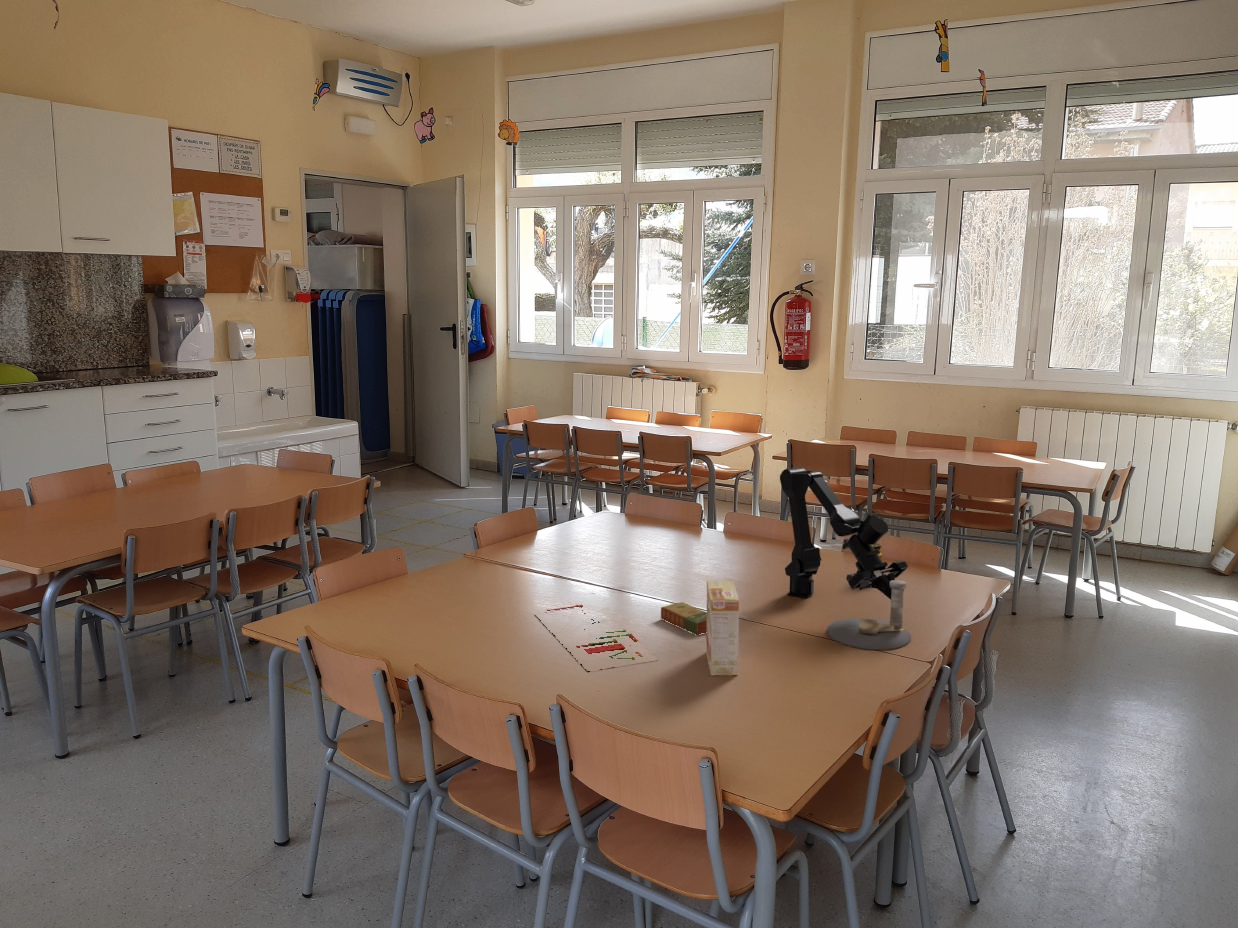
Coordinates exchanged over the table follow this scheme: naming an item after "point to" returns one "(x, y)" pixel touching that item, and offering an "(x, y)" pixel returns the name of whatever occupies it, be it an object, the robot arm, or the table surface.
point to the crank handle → (895, 616)
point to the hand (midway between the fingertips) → (895, 600)
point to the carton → (685, 617)
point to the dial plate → (867, 636)
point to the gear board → (609, 647)
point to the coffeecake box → (722, 627)
